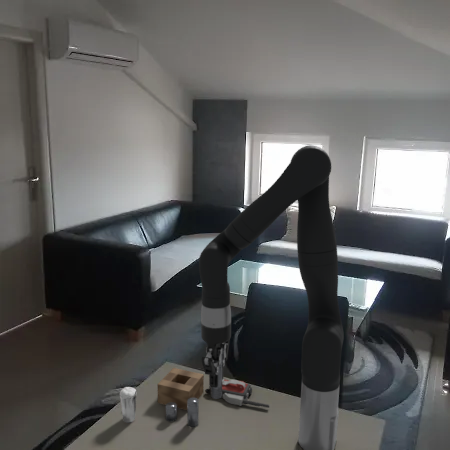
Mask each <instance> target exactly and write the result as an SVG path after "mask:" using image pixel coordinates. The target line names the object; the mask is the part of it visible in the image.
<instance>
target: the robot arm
mask: <svg viewBox="0 0 450 450" xmlns="http://www.w3.org/2000/svg"><path fill="white" fill-rule="evenodd" d="M290 159H291V160H290V162H289V163H288V165H287V167H285V169H284V171H283V172H282V173H281V174H280V175H279V177H278V178H277V179H276V180H275V182H274V183H272V184H271V186H270V187H269V188H268V189H267V190H265V191H264V192H263V193H262V194H261V195H259V197H257V198H255V200H253V201H252V202H251V203H250V204H249V205H247V206H246V208H245V209H243V210H242V211H241V212H240V213H239V214H238V215H237V216H236V217H234V219H233V220H232V221H231V222H230V223H229V224H228V225H227V227H226V228H225V229H223V230H222V232H220V233H219V234H218V235H217V236H215V237H214V238H213V239H212V240H211V241H210V242H209V243H208V244H207V245H206V246H205V247H204V248H203V250H202V251H201V252H200V255H199V258H198V259H199V260H198V271H199V277H200V283H201V309H200V320H201V321H200V325H201V326H200V327H201V328H200V329H201V331H200V332H201V339H202V340H203V341H204V342H205V343H206V350H205V352H206V356H202V357H201V364H202V367H203V371H204V374H205V375H208V377H209V379H208V380H209V381H208V382H209V385H208V386H211V387H215V388H217V387H218V370H219V365H220V364H221V354H222V380H223V379H224V368H225V364H226V362H227V361H228V355H229V348H230V342H231V340H230V339H231V338H232V310H231V287H230V283H229V282H228V269H229V264H230V262H231V261H232V260H233V259H234V258H235V257H236V256H238V254H239V253H240V252H241V251H242V250H244V249H246V248H248V247H249V246H250V245H251V244H252V243H254V242H255V241H256V240H257V239H258V238H259V237H260V236H261V235H262V234H263V233H264V232H265V231H266V230H267V229H268V228H269V227H270V226H271V225H272V224H273V223H274V222H275V221H276V220H277V219H278V218H279V217H280V216H281V215H282V214H283V213H284V212H285V211H286V210H287V209H288V208H289V207H290V206H292V205H293V204H294V203H295V202H296V201H297V206H298V207H297V208H298V210H297V211H298V212H297V213H298V214H297V228H296V232H297V233H296V246H297V247H296V249H297V259H298V260H297V261H298V268H299V273H300V277H301V280H302V283H303V286H304V289H305V291H306V295H307V296H306V297H307V304H308V310H307V311H308V316H307V319H308V320H307V327H306V330H305V332H304V335H303V338H302V343H301V361H300V362H301V365H300V371H301V387H300V388H301V391H300V407H299V421H298V423H299V424H298V425H299V426H298V440H297V441H298V445H299V446H300V447H301V448H302V449H303V450H335V447H336V443H337V441H338V440H337V438H338V424H339V415H340V414H339V413H340V412H339V411H340V408H339V400H340V399H339V398H340V397H339V395H340V384H341V363H342V362H341V361H342V360H341V359H342V352H343V351H342V348H343V343H344V340H345V336H344V335H345V334H344V327H343V322H342V318H341V313H340V312H341V311H340V307H339V305H340V304H339V297H338V292H339V291H338V289H339V288H338V287H339V267H338V266H339V259H338V258H339V257H338V246H337V238H336V237H337V236H336V230H335V225H334V220H333V216H332V212H331V208H330V187H329V186H330V175H331V172H332V162H331V161H332V160H331V158H330V156H329V155H328V152H326V151H325V149H324V148H321V147H320V146H317V145H312V144H311V145H305V146H302V147H300V148H299V149H297V150H296V152H294V154H293V155H292V157H291V158H290ZM214 360H215V361H217V362H215V361H214ZM214 366H215V367H214Z"/></svg>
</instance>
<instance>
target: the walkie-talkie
mask: <svg viewBox="0 0 450 450" xmlns="http://www.w3.org/2000/svg"><path fill="white" fill-rule="evenodd" d="M208 386H209V387H208V388H205V390H204V391H205V394H207V395H208V394H209V396H211V386H210V385H208ZM251 386H252V385H251V384H250V383H246V382H245V381H243V380H237V379H234V378H233V379H226V378H223V380H222V397H221V398H222V399H224V401H225V402H227V403H228V404H232V405H236V406H239V407H240V406H241V407H242V405H243V404H244V405H249V406H254V407H262V408H270V404H267V403H262V402H256V401H252V400H249V398H248V397H249V396H251V395H252V393H253V387H251ZM221 398H220V399H221Z"/></svg>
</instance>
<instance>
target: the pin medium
mask: <svg viewBox="0 0 450 450" xmlns="http://www.w3.org/2000/svg"><path fill="white" fill-rule="evenodd" d="M186 413H187V415H186V417H187V421H186V424H187V427H189V428H196V427H198V426H199V399H197V398H189V399H188V400H187V410H186Z"/></svg>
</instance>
